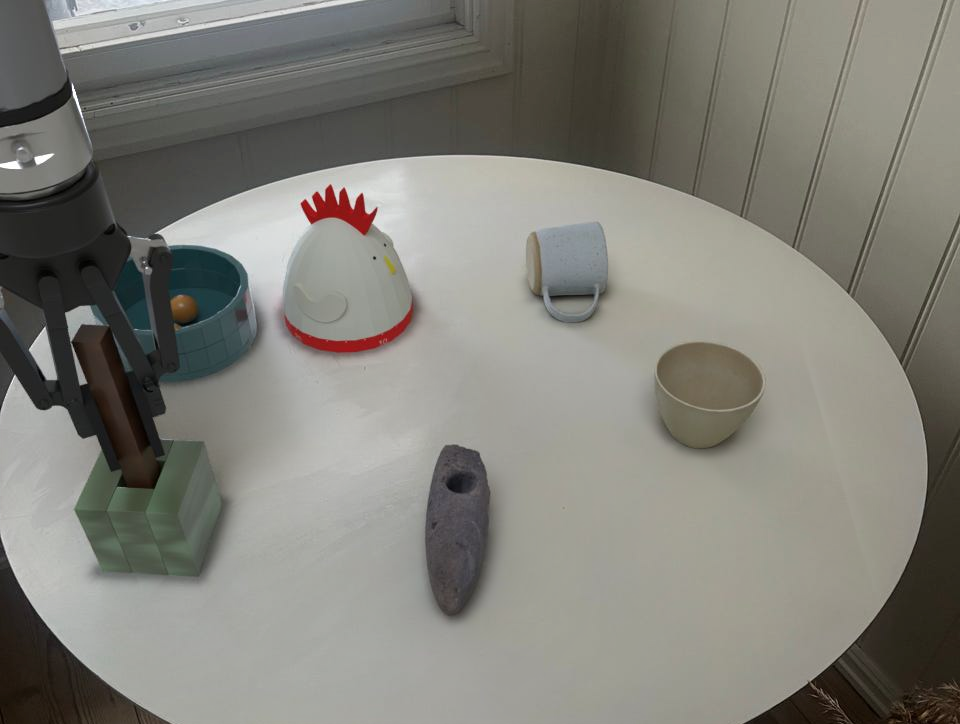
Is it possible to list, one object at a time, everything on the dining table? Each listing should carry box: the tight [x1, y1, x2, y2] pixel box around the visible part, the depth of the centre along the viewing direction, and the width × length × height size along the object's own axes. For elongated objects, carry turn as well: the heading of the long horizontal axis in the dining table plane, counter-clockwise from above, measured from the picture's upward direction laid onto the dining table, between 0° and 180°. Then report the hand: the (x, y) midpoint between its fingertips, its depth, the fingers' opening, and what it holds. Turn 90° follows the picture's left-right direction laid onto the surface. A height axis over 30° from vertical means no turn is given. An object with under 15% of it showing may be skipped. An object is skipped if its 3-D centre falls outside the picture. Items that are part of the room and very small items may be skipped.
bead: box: [170, 295, 198, 324], centre depth 97 cm, size 3×3×3 cm
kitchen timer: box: [281, 183, 414, 354], centre depth 95 cm, size 14×14×15 cm
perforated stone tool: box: [424, 444, 491, 617], centre depth 75 cm, size 15×5×7 cm, turn 175°
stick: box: [70, 323, 161, 489], centre depth 71 cm, size 2×2×22 cm
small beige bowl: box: [653, 340, 767, 449], centre depth 86 cm, size 10×10×7 cm
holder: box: [73, 438, 223, 578], centre depth 76 cm, size 8×8×8 cm
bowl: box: [89, 244, 258, 383], centre depth 96 cm, size 16×16×6 cm
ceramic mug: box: [525, 221, 609, 324], centre depth 101 cm, size 11×8×8 cm
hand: (134, 451), depth 71 cm, fingers closed on stick, 3 cm apart
